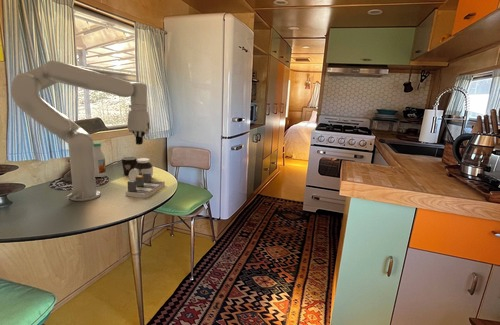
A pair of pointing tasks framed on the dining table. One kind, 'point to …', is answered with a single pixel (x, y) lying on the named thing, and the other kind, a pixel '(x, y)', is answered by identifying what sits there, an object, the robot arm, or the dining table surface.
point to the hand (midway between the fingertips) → (139, 144)
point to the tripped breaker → (139, 180)
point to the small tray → (144, 187)
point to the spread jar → (141, 168)
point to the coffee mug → (128, 164)
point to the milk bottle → (99, 161)
